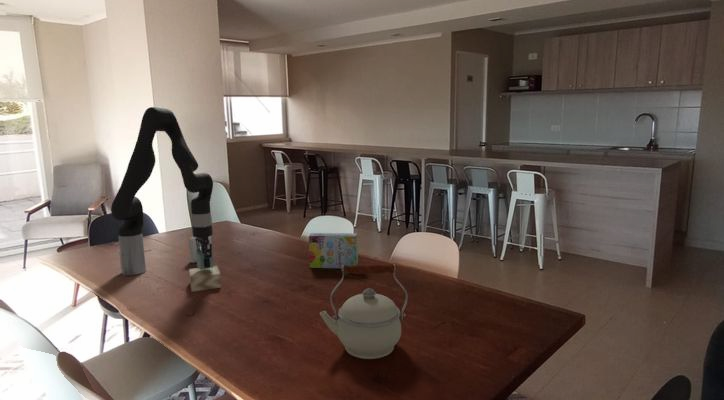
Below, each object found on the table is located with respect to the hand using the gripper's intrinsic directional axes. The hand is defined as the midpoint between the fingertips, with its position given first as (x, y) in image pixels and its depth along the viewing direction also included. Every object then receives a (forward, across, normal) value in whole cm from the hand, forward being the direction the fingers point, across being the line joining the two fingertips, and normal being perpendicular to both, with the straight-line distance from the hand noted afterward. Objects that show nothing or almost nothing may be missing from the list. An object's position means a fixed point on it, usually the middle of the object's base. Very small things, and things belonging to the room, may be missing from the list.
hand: (205, 265), depth 184 cm
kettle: (+8, +80, +21) cm, 83 cm away
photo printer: (+8, -34, +8) cm, 36 cm away
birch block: (+8, 0, -1) cm, 8 cm away
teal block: (+1, 0, 0) cm, 1 cm away
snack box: (+8, +12, +53) cm, 55 cm away
